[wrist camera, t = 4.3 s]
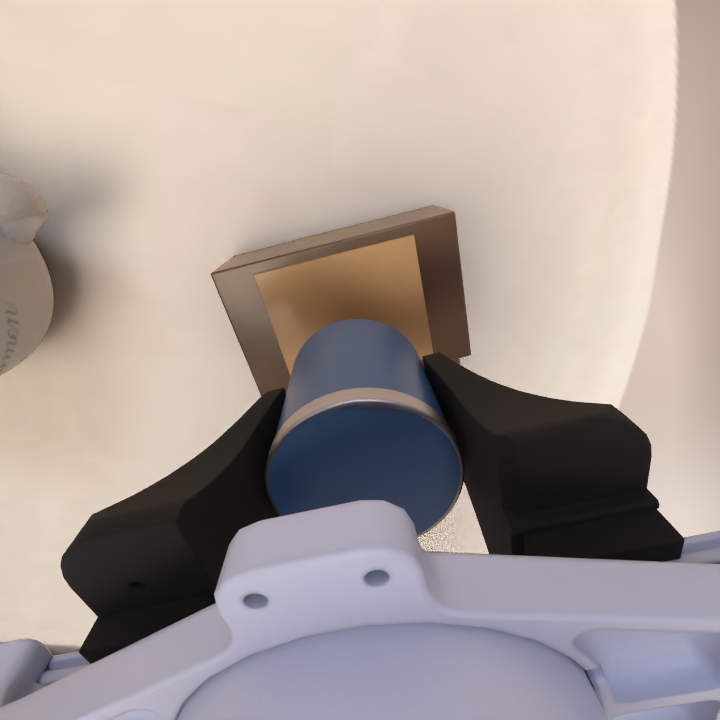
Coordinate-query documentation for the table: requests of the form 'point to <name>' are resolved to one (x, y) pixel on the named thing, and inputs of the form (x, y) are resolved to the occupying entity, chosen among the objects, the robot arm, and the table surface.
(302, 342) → the step shelf
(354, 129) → the table surface
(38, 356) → the table surface
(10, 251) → the teacup
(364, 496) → the tea tin
